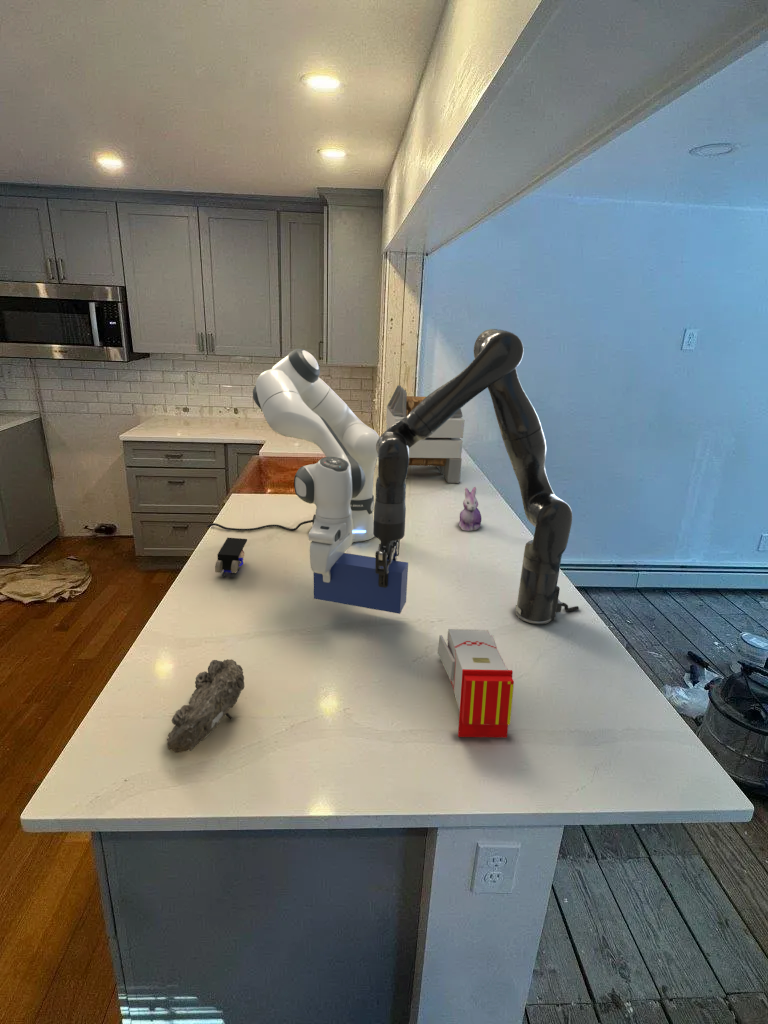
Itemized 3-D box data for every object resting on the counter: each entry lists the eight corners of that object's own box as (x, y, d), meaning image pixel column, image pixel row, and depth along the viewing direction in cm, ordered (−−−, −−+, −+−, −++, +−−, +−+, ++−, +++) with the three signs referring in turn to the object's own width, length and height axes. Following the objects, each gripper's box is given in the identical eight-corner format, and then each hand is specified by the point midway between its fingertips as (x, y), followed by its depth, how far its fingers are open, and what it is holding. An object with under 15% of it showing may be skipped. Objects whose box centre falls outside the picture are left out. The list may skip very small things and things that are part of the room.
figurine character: (238, 584, 162) (249, 557, 175) (236, 562, 158) (247, 536, 172) (215, 584, 161) (227, 556, 175) (212, 561, 158) (225, 535, 171)
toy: (488, 613, 130) (523, 677, 101) (484, 667, 133) (517, 744, 104) (435, 612, 130) (455, 676, 101) (432, 666, 133) (451, 743, 103)
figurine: (467, 533, 203) (471, 493, 198) (451, 523, 211) (454, 485, 206) (488, 529, 207) (492, 490, 202) (471, 520, 215) (475, 482, 210)
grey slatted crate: (382, 463, 289) (386, 382, 275) (445, 464, 293) (451, 384, 279) (390, 482, 257) (394, 392, 243) (460, 483, 261) (468, 394, 247)
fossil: (192, 660, 117) (244, 628, 112) (224, 691, 120) (276, 661, 115) (142, 746, 98) (202, 712, 93) (182, 779, 101) (242, 748, 96)
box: (313, 598, 144) (313, 559, 140) (322, 587, 150) (322, 549, 146) (400, 613, 138) (402, 573, 135) (406, 602, 144) (408, 562, 140)
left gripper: (336, 509, 149) (335, 556, 154) (305, 536, 131) (305, 590, 135) (359, 512, 148) (357, 560, 152) (330, 540, 129) (330, 594, 134)
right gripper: (397, 529, 127) (394, 596, 133) (411, 509, 140) (408, 571, 146) (365, 525, 129) (363, 591, 134) (382, 506, 142) (380, 566, 147)
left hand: (332, 574), depth 144 cm, fingers closed on box, 6 cm apart
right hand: (386, 580), depth 140 cm, fingers closed on box, 6 cm apart
